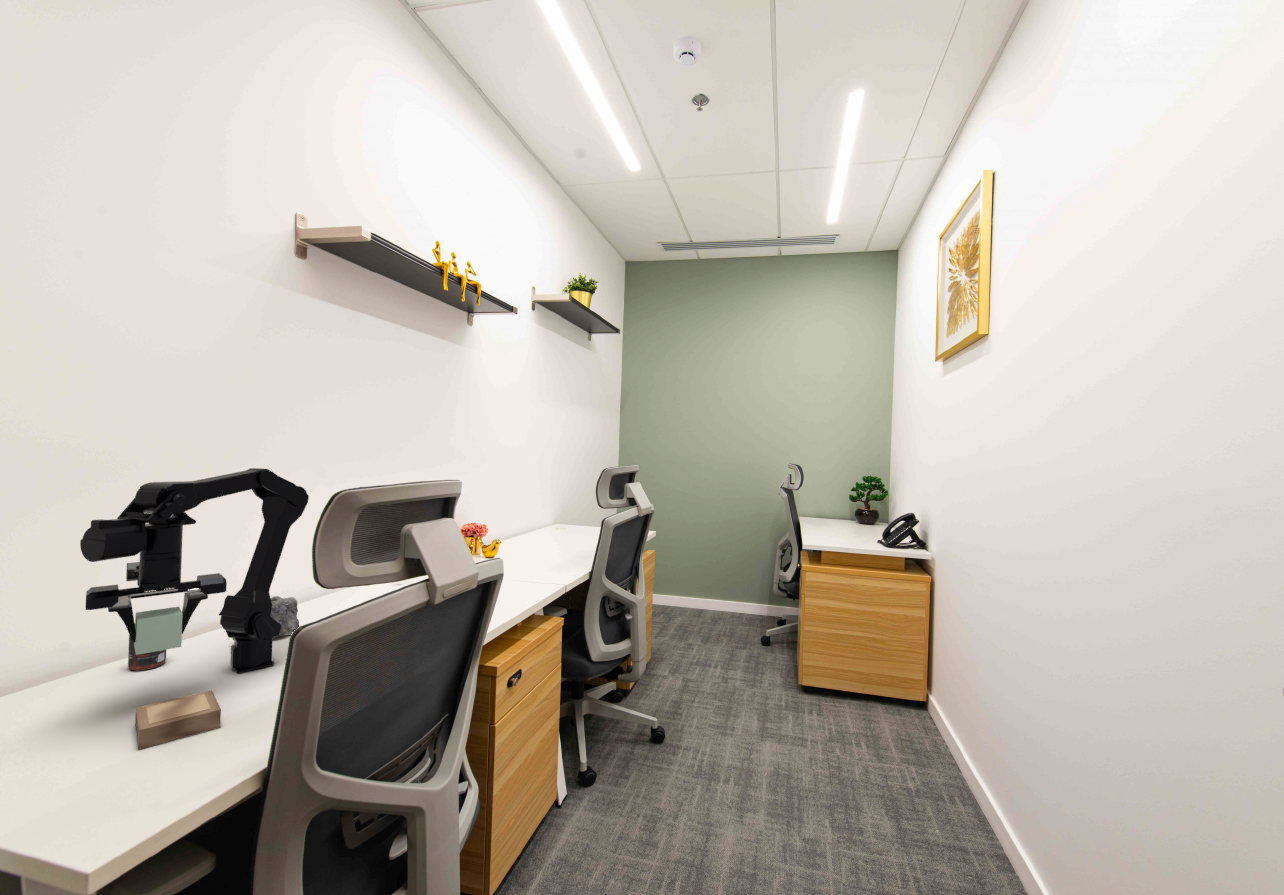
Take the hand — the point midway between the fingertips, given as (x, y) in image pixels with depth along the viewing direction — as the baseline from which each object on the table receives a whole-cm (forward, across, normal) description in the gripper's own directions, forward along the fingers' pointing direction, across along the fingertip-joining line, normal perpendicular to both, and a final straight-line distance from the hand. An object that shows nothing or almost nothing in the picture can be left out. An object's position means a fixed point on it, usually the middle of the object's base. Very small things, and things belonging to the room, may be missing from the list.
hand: (158, 637), depth 97 cm
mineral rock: (+12, -22, -28) cm, 37 cm away
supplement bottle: (+12, 0, -23) cm, 26 cm away
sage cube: (+2, 0, 0) cm, 2 cm away
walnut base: (+12, -2, +13) cm, 18 cm away
